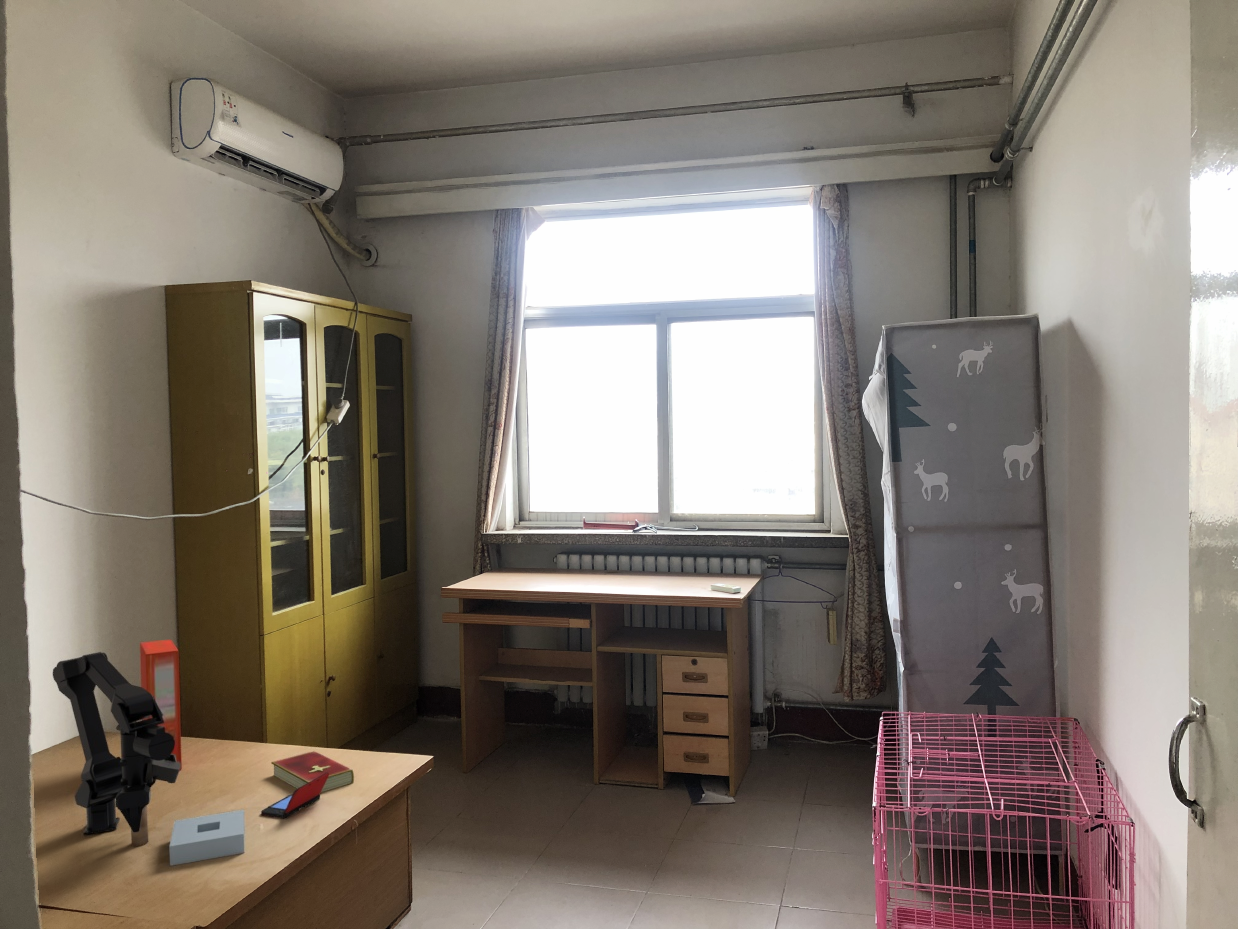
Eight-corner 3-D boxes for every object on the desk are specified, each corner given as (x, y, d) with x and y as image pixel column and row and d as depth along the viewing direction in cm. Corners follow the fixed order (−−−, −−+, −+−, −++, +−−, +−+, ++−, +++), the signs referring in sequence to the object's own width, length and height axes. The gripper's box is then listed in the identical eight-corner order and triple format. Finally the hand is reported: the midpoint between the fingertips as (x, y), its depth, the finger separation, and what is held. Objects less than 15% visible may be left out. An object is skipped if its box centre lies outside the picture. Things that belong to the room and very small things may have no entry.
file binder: (175, 752, 258) (171, 639, 257) (183, 770, 243) (178, 650, 242) (143, 758, 253) (138, 643, 253) (149, 776, 239) (144, 654, 238)
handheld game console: (295, 796, 223) (294, 766, 223) (332, 801, 219) (331, 770, 219) (258, 816, 211) (257, 784, 211) (296, 822, 208) (295, 789, 207)
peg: (132, 841, 199) (131, 805, 199) (149, 838, 200) (147, 802, 200) (130, 847, 196) (129, 810, 196) (147, 844, 197) (146, 807, 197)
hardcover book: (315, 765, 246) (315, 749, 245) (354, 784, 231) (353, 768, 230) (271, 777, 237) (271, 761, 237) (308, 798, 222) (308, 781, 222)
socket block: (175, 838, 200) (174, 820, 200) (244, 827, 205) (244, 809, 205) (170, 865, 187) (169, 846, 187) (244, 852, 192) (243, 833, 192)
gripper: (174, 760, 192) (176, 833, 192) (180, 734, 209) (183, 802, 210) (113, 768, 188) (116, 843, 188) (125, 741, 205) (128, 810, 206)
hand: (138, 823), depth 198 cm, fingers open, 9 cm apart
